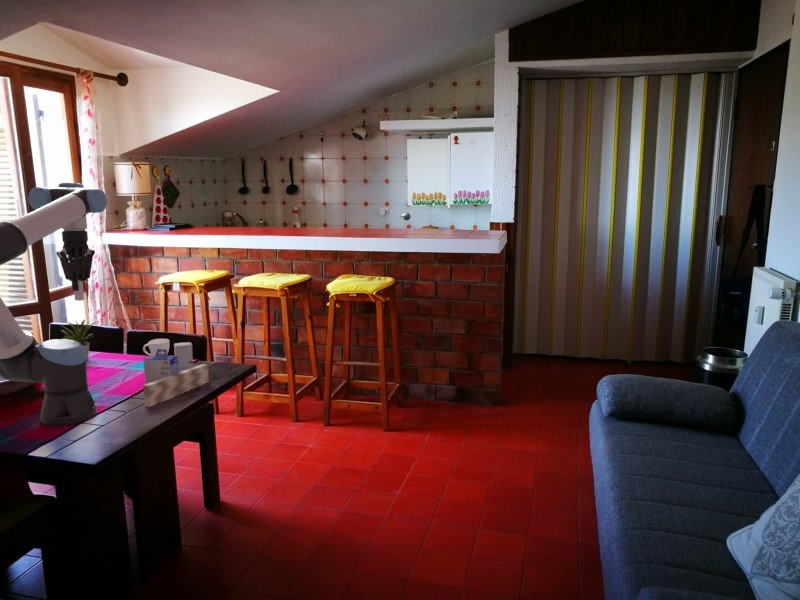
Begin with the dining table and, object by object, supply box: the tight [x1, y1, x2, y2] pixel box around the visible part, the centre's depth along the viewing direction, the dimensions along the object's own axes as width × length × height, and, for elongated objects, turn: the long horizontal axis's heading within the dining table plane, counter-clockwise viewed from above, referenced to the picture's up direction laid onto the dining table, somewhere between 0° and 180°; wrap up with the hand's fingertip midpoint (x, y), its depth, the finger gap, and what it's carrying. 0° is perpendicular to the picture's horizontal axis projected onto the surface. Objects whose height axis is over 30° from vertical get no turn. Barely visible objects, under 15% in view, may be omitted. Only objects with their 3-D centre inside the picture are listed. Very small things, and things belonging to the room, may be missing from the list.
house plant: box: [60, 319, 101, 360], centre depth 243 cm, size 14×14×16 cm
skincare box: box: [173, 341, 194, 373], centre depth 224 cm, size 6×4×12 cm
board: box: [142, 363, 210, 408], centre depth 206 cm, size 26×2×7 cm, turn 152°
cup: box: [142, 338, 170, 356], centre depth 247 cm, size 8×10×7 cm
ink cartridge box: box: [143, 349, 178, 385], centre depth 208 cm, size 10×6×14 cm, turn 82°
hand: (79, 300), depth 206 cm, fingers closed
